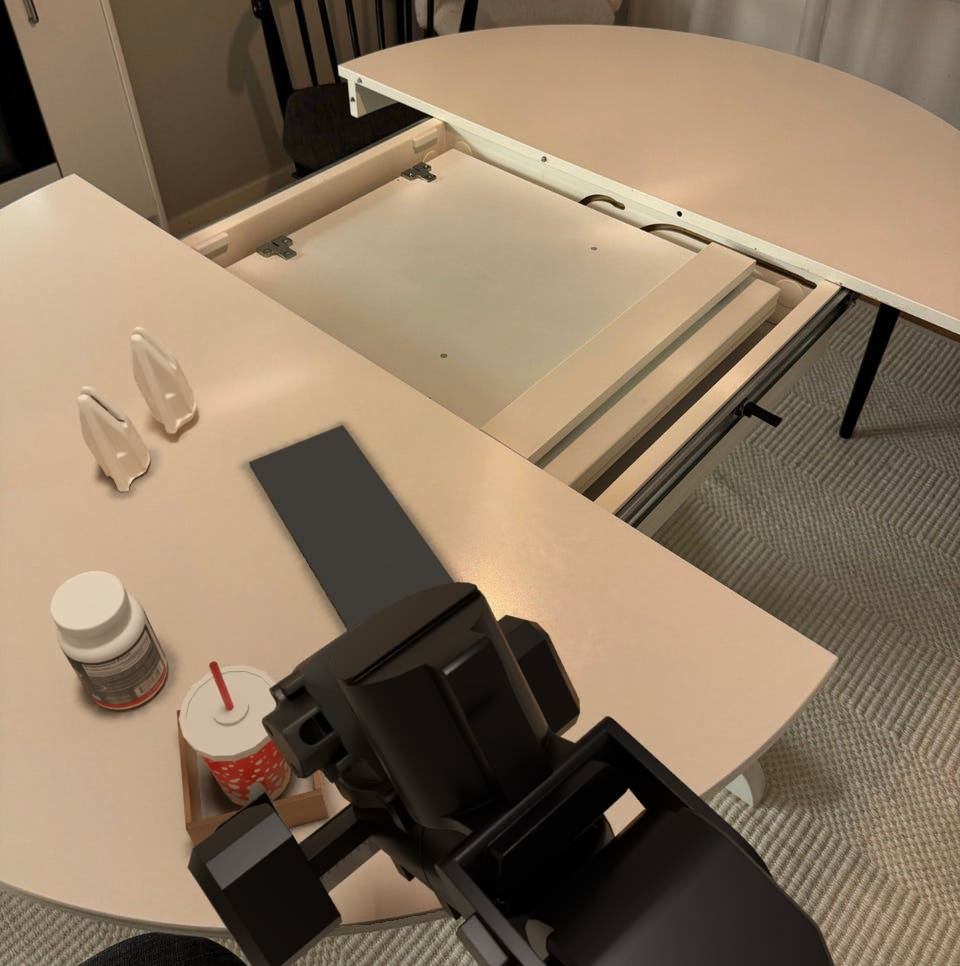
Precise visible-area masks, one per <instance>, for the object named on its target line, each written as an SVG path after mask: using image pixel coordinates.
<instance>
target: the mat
mask: <svg viewBox="0 0 960 966" xmlns="http://www.w3.org/2000/svg"><path fill="white" fill-rule="evenodd" d="M248 464H249V466H250V468H251V470H252V471H253V473H254V474H255V476H256V478H257V480H258V482H259V483H260V485H261V486H262V488H263V490H264V492H265V493H266V495H267V497H268V499H269V500H270V502H271V503H272V505H273V506H274V508H275V510H276V512H277V514H278V515H279V517H280V519H281V520H282V523H284V525H285V527H286V529H287V530H288V532H289V534H290V536H291V538H292V539H293V540H294V542H295V544H296V546H297V548H298V549H299V550H300V552H301V554H302V555H303V557H304V559H305V560H306V562H307V564H308V566H309V567H310V569H311V571H312V573H313V574H314V576H315V577H316V579H317V581H318V582H319V584H320V586H321V588H322V589H323V591H324V592H325V594H326V596H327V598H328V600H329V601H330V603H331V604H332V606H333V607H334V610H335V611H336V612H337V614H338V616H339V618H340V619H341V622H342V623H343V624H344V627H345V628H346V630H349V629H350V628H352V627H353V626H355V625H356V624H358V623H359V622H361V621H363V620H364V619H366V618H367V617H369V616H370V615H372V614H374V613H377V612H378V611H380V610H382V609H384V608H385V607H387V606H389V605H390V604H392V603H394V602H396V601H398V600H400V599H402V598H404V597H406V596H409V595H411V594H413V593H416V592H419V591H421V590H424V589H427V588H430V587H434V586H437V585H441V584H447V583H454V582H455V580H454V579H453V577H452V576H451V575H450V574H449V572H448V570H447V569H446V568H445V567H444V565H443V563H442V562H441V561H440V560H439V557H438V556H437V555H436V553H435V552H434V551H433V549H432V548H431V546H430V545H429V544H428V542H427V541H426V540H425V538H424V537H423V535H422V534H421V532H420V531H419V530H418V528H417V527H416V525H415V524H414V523H413V521H412V520H411V518H410V517H409V515H408V514H407V513H406V511H405V510H404V509H403V507H402V506H401V504H400V503H399V502H398V499H396V497H395V496H394V494H393V493H392V491H391V490H390V489H389V488H388V486H387V485H386V483H385V482H384V480H383V479H382V478H381V476H380V475H379V473H378V472H377V471H376V469H375V468H374V466H373V465H372V464H371V462H370V461H369V460H368V458H367V456H366V455H365V454H364V453H363V451H362V449H361V448H360V446H359V445H358V444H357V442H356V440H354V438H353V437H352V436H351V434H350V433H349V431H348V430H347V429H346V427H345V426H344V424H342V425H339V426H336V427H333V428H331V429H328V430H326V431H323V432H321V433H318V434H315V435H313V436H311V437H309V438H306V439H303V440H301V441H298V442H296V443H294V444H291V445H288V446H285V447H283V448H280V449H278V450H275V451H273V452H271V453H267V454H265V455H263V456H261V457H258V458H255V459H253V460H250V461H248Z"/></svg>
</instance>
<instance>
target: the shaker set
mask: <svg viewBox="0 0 960 966" xmlns="http://www.w3.org/2000/svg"><path fill="white" fill-rule="evenodd" d="M130 349H131V363H132V374H133V380H134V382H135V384H136V386H137V388H138V390H139V392H140V393H141V396H142V398H143V399H144V402H145V403H146V405H147V408H148V409H149V410H150V412H151V414H152V416H153V419H154V420H155V421H157V422H158V423H160V424H161V425H163V426H164V430H165V433H166V434H170V435H171V434H176V433H177V432H178V430H179V429H180V428H181V427H183V426H184V425H186V424H187V423H189V422H190V421H191V420H192V419H193V418H194V416H195V415H196V412H197V411H196V410H197V408H198V407H197V406H198V405H197V398H196V396H195V394H194V392H193V390H192V387H191V385H190V383H189V380H188V379H187V377H186V375H185V373H184V370H183V369H182V366H181V364H180V363H179V361H178V359H177V357H176V356H175V355H174V354H173V353H172V352H171V350H170V349H168V348H167V346H165V345H164V343H163V342H161V341H160V339H158V338H157V337H156V336H155V335H154V334H153V333H152V332H150V331H149V330H148V329H146V328H144V327H142V326H136V327H134V328H133V330H132V335H131V337H130ZM77 407H78V417H79V423H80V429H81V435H82V439H83V440H84V443H85V445H86V446H87V447H88V449H89V451H90V452H91V454H92V455H93V457H94V459H95V460H96V462H97V463H98V465H99V467H100V468H101V469H102V471H103V473H104V475H105V476H106V477H110V478H111V479H113V481H114V483H115V486H116V489H117V491H119V492H120V493H122V492H124V493H125V492H129V489H130V485H131V483H132V481H133V480H135V478H138V477H140V476H141V475H143V474H144V473H146V471H147V469H148V467H149V464H150V461H151V458H150V452H149V449H148V447H147V445H146V443H145V442H144V440H143V439H142V437H141V435H140V433H139V431H138V430H137V428H136V426H135V424H134V423H133V421H132V420H131V418H130V417H129V415H128V414H127V413H126V412H125V411H124V410H123V409H122V408H120V407H119V405H117V404H116V403H115V402H114V401H113V400H111V399H110V398H109V397H107V396H106V395H105V394H104V393H102V392H101V391H99V390H98V389H96V388H94V387H93V386H91V385H84V386H81V388H80V395H79V396H78V397H77Z"/></svg>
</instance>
